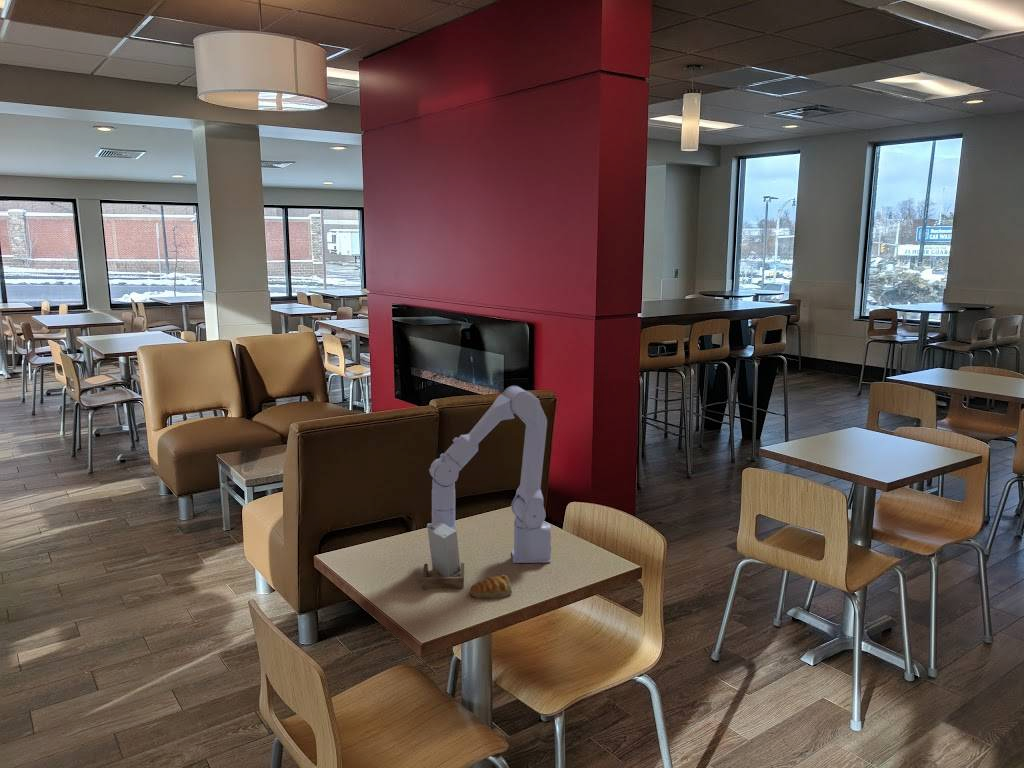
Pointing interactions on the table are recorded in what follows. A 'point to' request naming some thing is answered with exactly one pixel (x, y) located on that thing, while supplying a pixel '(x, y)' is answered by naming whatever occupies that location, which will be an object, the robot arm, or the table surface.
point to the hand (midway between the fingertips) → (443, 560)
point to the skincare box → (444, 550)
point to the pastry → (492, 587)
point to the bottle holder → (442, 580)
